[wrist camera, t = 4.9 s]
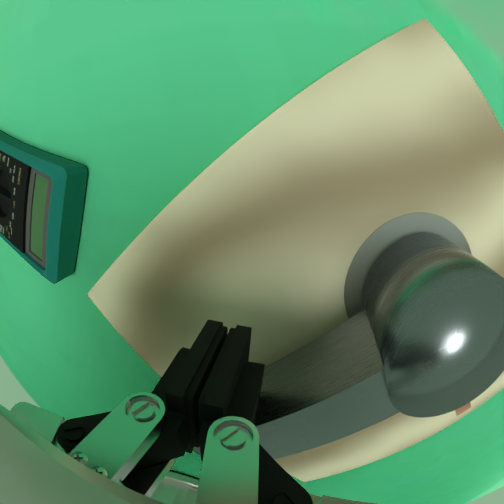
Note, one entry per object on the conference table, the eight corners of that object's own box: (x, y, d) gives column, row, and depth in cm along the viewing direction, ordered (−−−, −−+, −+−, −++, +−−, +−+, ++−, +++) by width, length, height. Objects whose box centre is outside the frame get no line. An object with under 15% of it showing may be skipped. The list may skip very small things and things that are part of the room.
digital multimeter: (-1, 127, 14) (-26, 129, 11) (97, 166, 13) (60, 171, 10) (-10, 203, 16) (-32, 210, 14) (81, 274, 16) (51, 292, 13)
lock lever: (437, 206, 9) (510, 240, 4) (476, 297, 9) (527, 354, 5) (193, 369, 13) (158, 436, 9) (255, 422, 14) (239, 487, 9)
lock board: (535, 339, 11) (545, 350, 9) (304, 468, 18) (303, 482, 16) (414, 30, 8) (426, 17, 6) (101, 283, 15) (86, 294, 13)
